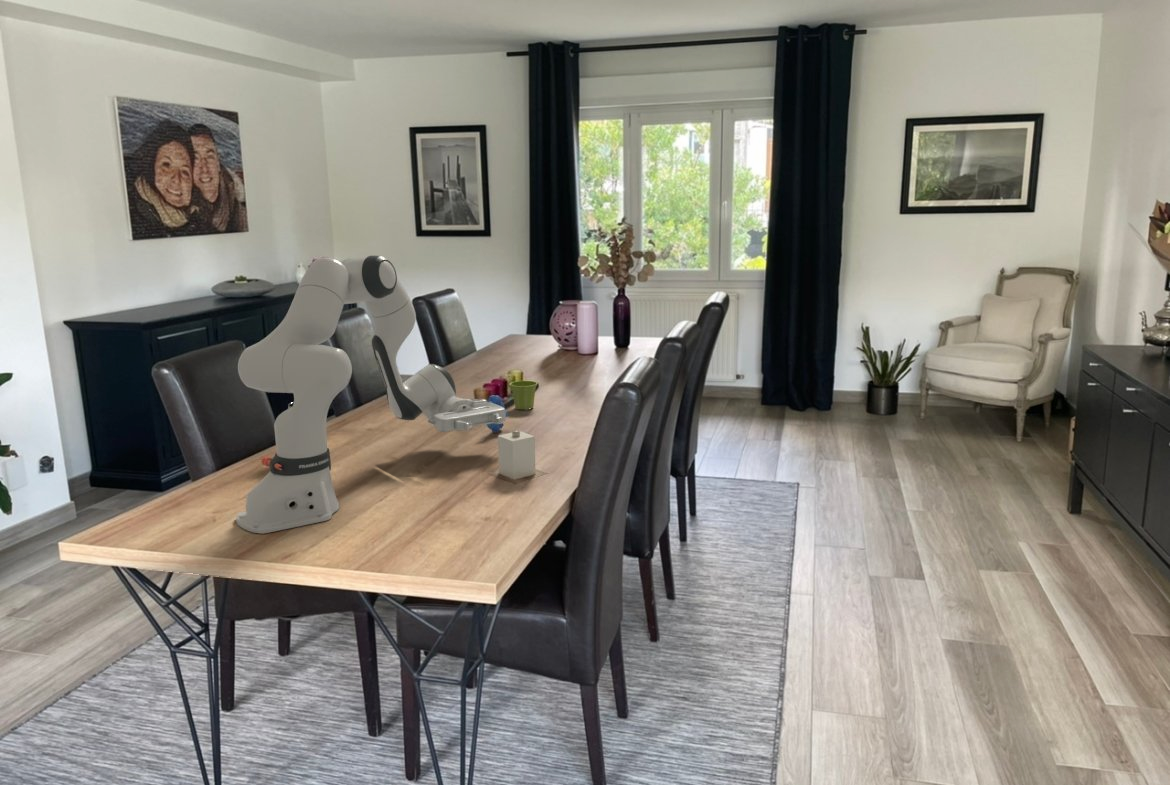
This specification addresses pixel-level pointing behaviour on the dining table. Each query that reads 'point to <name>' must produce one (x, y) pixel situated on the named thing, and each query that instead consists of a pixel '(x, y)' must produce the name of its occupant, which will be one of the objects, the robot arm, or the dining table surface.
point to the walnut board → (538, 473)
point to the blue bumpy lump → (498, 401)
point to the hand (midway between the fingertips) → (485, 423)
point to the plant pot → (523, 393)
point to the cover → (516, 454)
